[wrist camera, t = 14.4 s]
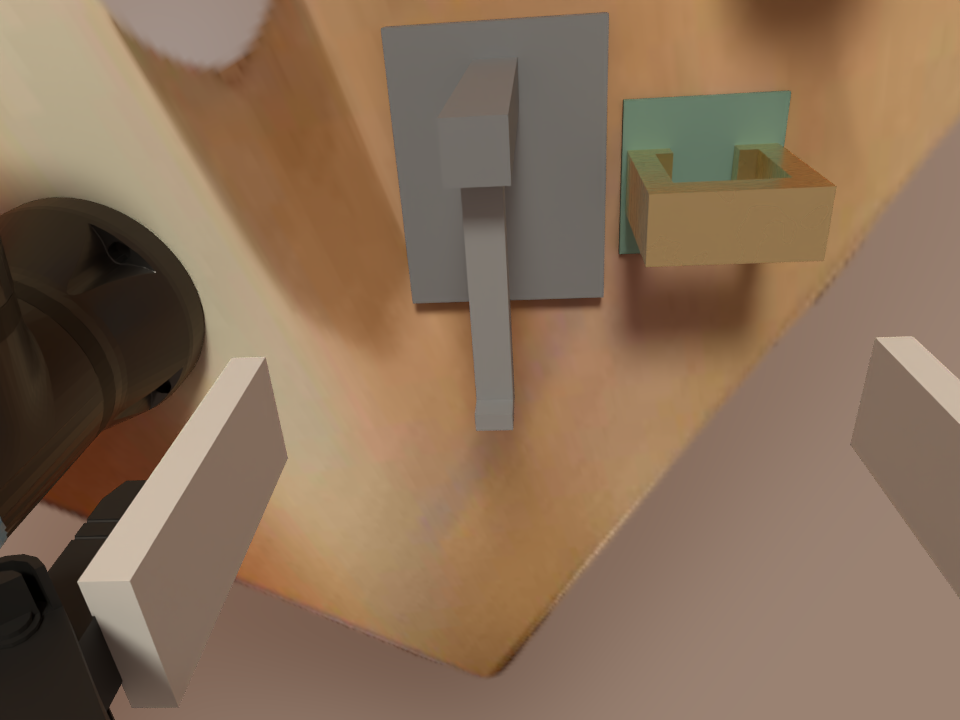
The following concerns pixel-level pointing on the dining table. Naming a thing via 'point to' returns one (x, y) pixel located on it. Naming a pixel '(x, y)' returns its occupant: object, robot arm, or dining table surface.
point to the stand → (501, 172)
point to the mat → (698, 136)
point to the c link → (729, 210)
